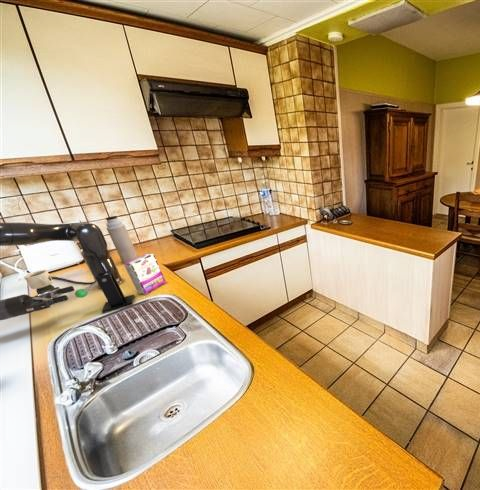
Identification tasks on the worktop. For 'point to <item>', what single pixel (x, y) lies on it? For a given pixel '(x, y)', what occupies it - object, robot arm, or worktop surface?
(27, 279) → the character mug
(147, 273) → the candy bar box
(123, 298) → the switch bracket
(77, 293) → the switch lever
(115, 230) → the thermos bottle
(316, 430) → the worktop surface
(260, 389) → the worktop surface
